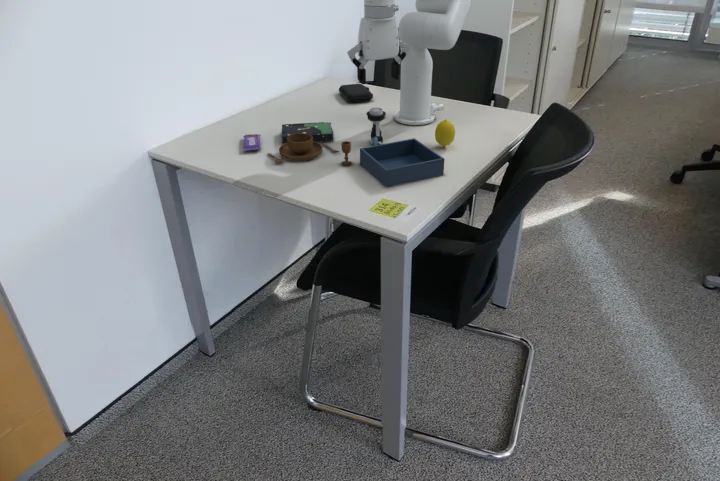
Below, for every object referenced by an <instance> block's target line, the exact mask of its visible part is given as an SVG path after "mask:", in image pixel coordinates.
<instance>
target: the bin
mask: <svg viewBox="0 0 720 481" xmlns="http://www.w3.org/2000/svg"><path fill="white" fill-rule="evenodd" d="M359 165H360V166H361V167H362V168H363V169H364V170H366V171H367V172H368V173H369V174H370V175H371V176H372V177H374V178H375V179H376V181H378V182H379V183H380V184H382V185H383V186H384V188H390V187H395V186H400V185H404V184H409V183H413V182H417V181H423V180H428V179H431V178H436V177H440V176H441V177H442V176H444V172H445V171H444V169H445V157H443V156H442V155H440V154H439V153H438V152H435V151H434V150H432V149H431V148H430V147H428V146H427V145H426V144H424V143H422V142H421V141H419V140H418V139H416V138H415V137H413V138H408V139H404V140H397V141H392V142H386V143H382V144H381V145H376V146H374V145H372V146H366V147H361V148H359Z"/></svg>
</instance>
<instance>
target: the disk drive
mask: <svg viewBox="0 0 720 481" xmlns="http://www.w3.org/2000/svg"><path fill="white" fill-rule="evenodd" d="M296 133H307V134H310V135H312V136H313V141H314V142H317V143H319V144H320V143H329V142H330V143H331V142H334V130H333V126H332V121H331V122H329V121H328V122H327V121H326V122H324V121H321V122H320V121H319V122H300V123H282V124H281V143H282V144H281V145H283V144H285V143H287V137H288V136H290V135H292V134H296Z"/></svg>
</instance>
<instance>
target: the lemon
mask: <svg viewBox="0 0 720 481" xmlns="http://www.w3.org/2000/svg"><path fill="white" fill-rule="evenodd" d="M434 138H435V141H436V143H437V144H438V145H440V146H441V147H442V148H446V147H447V146H450V145H451V144H452V143H453V142H454V140H455V138H456V128H455V125H454V123H453V122H451V120H448V119H444V120H442V121H440V122H438V124H437V125H436V127H435V130H434Z"/></svg>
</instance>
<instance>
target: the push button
mask: <svg viewBox="0 0 720 481" xmlns="http://www.w3.org/2000/svg"><path fill="white" fill-rule="evenodd" d="M386 116H387V112H386V111H384V109H383V108H381V107H371V108H370V109H369V111H367V112H366V117H367V120H368V121H370V122H371V123H372V127H371V130H370V134H369V135H370V144H371V145H373V146H376V145H381V144H384V137H383V136H382V133H383V132H382V130H381V122H383V121H384V120H385V119H386Z"/></svg>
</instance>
